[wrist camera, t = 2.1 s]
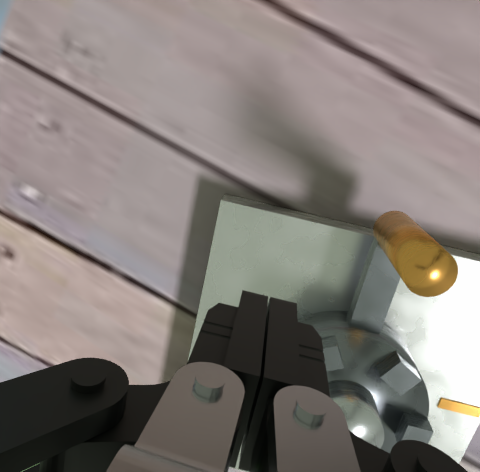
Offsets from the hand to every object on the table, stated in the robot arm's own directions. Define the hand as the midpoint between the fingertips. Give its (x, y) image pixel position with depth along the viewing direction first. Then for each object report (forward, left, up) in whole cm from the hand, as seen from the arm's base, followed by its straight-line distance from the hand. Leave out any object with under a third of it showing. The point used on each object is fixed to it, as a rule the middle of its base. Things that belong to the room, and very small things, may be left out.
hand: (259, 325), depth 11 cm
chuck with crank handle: (+8, +8, -16) cm, 20 cm away
